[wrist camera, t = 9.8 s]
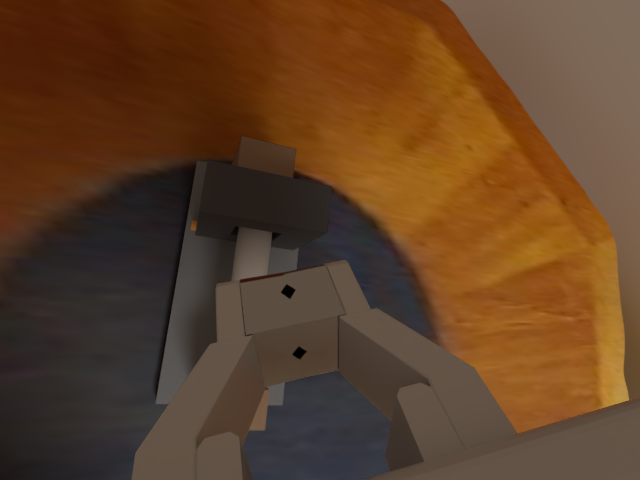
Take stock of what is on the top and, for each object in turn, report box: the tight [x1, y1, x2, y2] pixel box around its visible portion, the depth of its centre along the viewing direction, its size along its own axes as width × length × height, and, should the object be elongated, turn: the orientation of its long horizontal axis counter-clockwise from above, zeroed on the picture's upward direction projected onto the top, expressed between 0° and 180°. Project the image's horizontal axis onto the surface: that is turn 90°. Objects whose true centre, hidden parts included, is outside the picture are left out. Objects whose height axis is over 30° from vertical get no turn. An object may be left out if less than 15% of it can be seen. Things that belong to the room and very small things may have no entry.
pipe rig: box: [156, 136, 299, 430], centre depth 35 cm, size 24×12×10 cm, turn 174°
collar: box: [195, 160, 332, 250], centre depth 33 cm, size 4×10×10 cm, turn 84°
